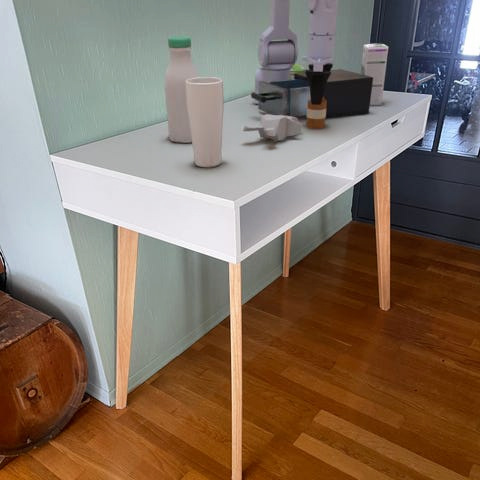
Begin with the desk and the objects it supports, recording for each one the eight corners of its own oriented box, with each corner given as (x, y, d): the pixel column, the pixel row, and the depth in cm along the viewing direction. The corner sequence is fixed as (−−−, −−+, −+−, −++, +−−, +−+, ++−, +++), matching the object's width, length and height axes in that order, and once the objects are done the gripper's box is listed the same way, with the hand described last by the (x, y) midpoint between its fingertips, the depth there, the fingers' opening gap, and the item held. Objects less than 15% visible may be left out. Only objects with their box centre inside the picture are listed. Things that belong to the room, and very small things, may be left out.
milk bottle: (198, 144, 109) (192, 39, 98) (164, 142, 111) (154, 39, 99) (207, 134, 115) (202, 35, 104) (175, 133, 117) (167, 35, 105)
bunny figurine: (311, 115, 112) (276, 121, 102) (308, 139, 115) (274, 147, 104) (275, 110, 117) (238, 115, 106) (273, 133, 120) (237, 140, 109)
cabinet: (320, 119, 126) (323, 82, 121) (292, 107, 137) (294, 73, 132) (368, 113, 131) (373, 77, 126) (337, 102, 142) (340, 69, 137)
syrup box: (381, 105, 138) (390, 45, 130) (360, 105, 138) (367, 46, 130) (377, 101, 143) (385, 43, 135) (356, 101, 143) (363, 43, 135)
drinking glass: (225, 158, 101) (223, 76, 92) (225, 169, 95) (223, 83, 87) (191, 159, 101) (186, 77, 92) (189, 170, 95) (184, 84, 87)
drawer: (267, 121, 121) (268, 91, 117) (244, 110, 131) (244, 82, 127) (329, 114, 127) (331, 84, 123) (302, 103, 137) (304, 76, 133)
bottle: (302, 125, 121) (304, 87, 116) (316, 123, 123) (319, 85, 118) (313, 129, 118) (316, 90, 113) (328, 127, 120) (332, 88, 115)
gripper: (306, 30, 116) (302, 94, 124) (300, 37, 104) (297, 107, 112) (336, 31, 115) (331, 94, 123) (335, 38, 103) (329, 108, 111)
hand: (317, 100), depth 117 cm, fingers open, 7 cm apart
